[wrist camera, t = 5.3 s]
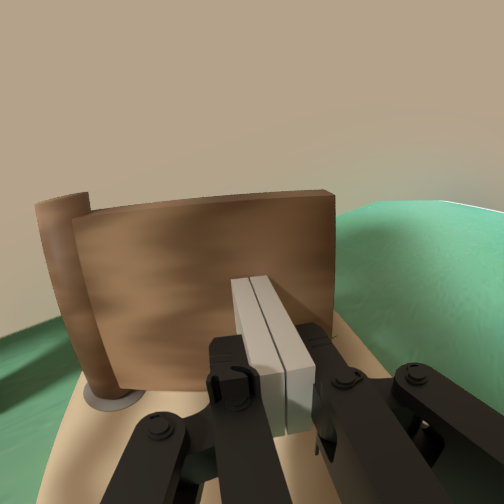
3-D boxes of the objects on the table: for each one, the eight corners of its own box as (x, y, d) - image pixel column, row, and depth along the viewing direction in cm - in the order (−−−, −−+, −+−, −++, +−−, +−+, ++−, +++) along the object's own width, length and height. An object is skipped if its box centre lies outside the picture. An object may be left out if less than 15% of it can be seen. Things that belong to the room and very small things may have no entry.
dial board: (47, 539, 7) (29, 526, 6) (120, 308, 31) (117, 294, 31) (451, 482, 10) (464, 464, 9) (302, 286, 34) (302, 272, 34)
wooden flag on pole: (84, 396, 16) (23, 207, 12) (100, 368, 18) (54, 197, 15) (346, 393, 15) (361, 171, 12) (334, 361, 18) (340, 167, 15)
